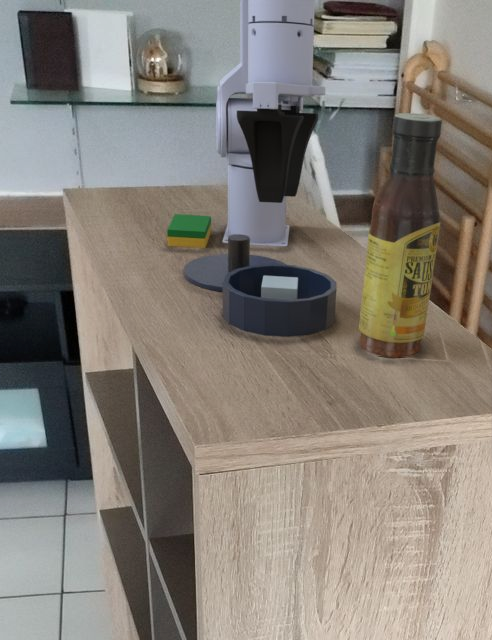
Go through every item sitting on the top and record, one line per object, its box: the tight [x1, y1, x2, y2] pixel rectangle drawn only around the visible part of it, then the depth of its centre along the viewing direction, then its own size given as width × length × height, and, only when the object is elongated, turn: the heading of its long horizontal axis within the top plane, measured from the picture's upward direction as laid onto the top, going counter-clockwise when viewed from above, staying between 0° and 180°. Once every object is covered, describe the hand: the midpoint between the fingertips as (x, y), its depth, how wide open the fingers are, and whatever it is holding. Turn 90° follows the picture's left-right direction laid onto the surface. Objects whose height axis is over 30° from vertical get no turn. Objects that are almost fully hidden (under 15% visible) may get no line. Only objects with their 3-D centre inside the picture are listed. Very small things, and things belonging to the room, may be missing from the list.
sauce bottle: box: [358, 112, 443, 359], centre depth 80 cm, size 6×6×20 cm
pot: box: [222, 264, 338, 338], centre depth 90 cm, size 11×11×4 cm
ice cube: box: [261, 276, 298, 300], centre depth 89 cm, size 4×4×4 cm
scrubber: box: [166, 213, 212, 249], centre depth 110 cm, size 7×4×2 cm, turn 179°
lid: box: [183, 234, 288, 293], centre depth 99 cm, size 12×12×5 cm
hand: (278, 199), depth 84 cm, fingers open, 7 cm apart
